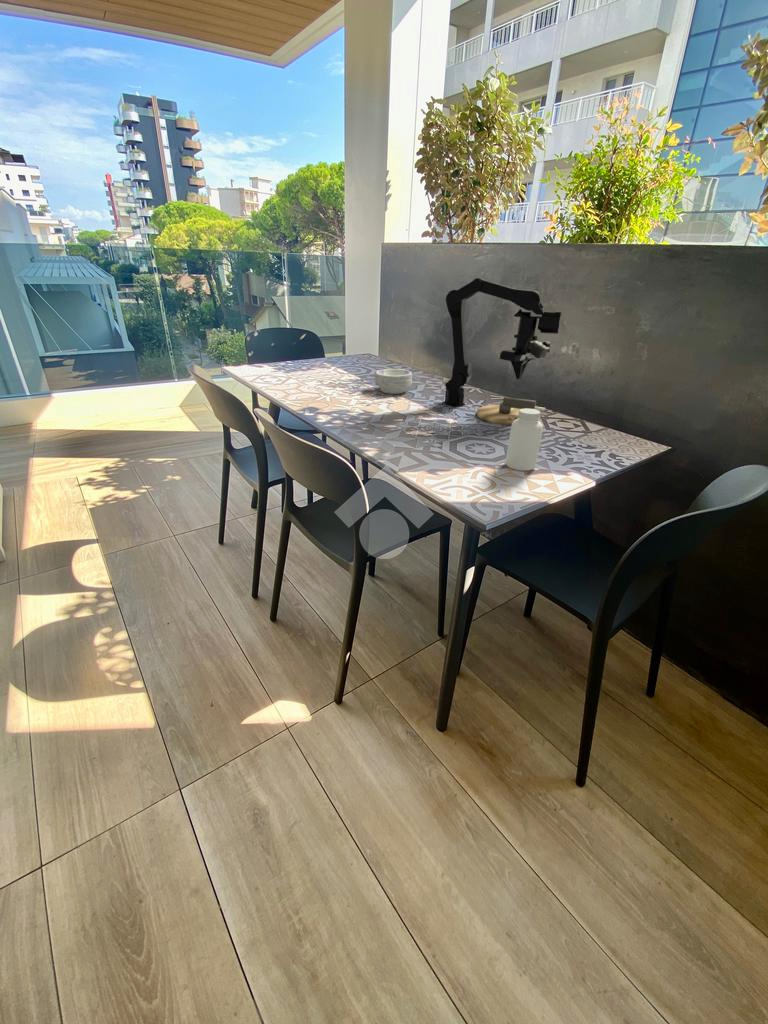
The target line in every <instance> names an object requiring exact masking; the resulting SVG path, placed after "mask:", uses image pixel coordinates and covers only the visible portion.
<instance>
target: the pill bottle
mask: <svg viewBox="0 0 768 1024" xmlns="http://www.w3.org/2000/svg"><path fill="white" fill-rule="evenodd" d="M540 418H541V410H535V409H529V408H525V409H520V410H519V413H518V419H517V420H515V421H514V422H513V423H512V425H510V432H509V438H508V445H507V451H506V456H505V464H506V466H507V467H508V468H510V469H512V470H516V471H524V472H525V471H526V472H528V471H533V470H534V469H535V468H536V465H537V463H538V462H537V461H538V457H539V451H540V447H541V442H542V441H541V440H542V437H543V431H544V425H543V424H542V422H541V421H540Z"/></svg>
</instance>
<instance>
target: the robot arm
mask: <svg viewBox="0 0 768 1024" xmlns="http://www.w3.org/2000/svg"><path fill="white" fill-rule="evenodd" d="M477 293H482V294H487V295H489V296H491V297H492V296H493V297H496V298H499V299H503V300H506V301H509V302H511V303H513V304H515V305H516V306H518V307H520V309H519V310H518V311H517V312H516V313H514V315H513V317H515V318H519V321H518V328H517V333H515V334H514V336H513V338H515V339H516V340H515V344H514V345H515V346H513V347H512V348H511V349H505V350H504V349H503V350H502V351H501V352H499V353H500V354H499V357H498V358H499V360H502V361H508V362H510V363H511V366H512V369H513V371H514V375H515V379H517V380H521V378H522V376H523V374H524V372H525V371H526V369H527V366H528V365H529V364H530V363H531V362H532V361H535V358H536V359H541V358H545V357H546V355H547V353H550V351H551V350H550V349H551V342H550V341H548V340H546V341H543V342H541V341H538V335H537V334H536V335H535V333H536V329H537V330H538V331H540V334H546V335H547V334H548V335H559V331H560V326H561V317H562V311H546V310H545V307H544V306H543V304H542V295H541V293H540V291H537V290H534V289H524V288H523V289H522V288H520V289H519V288H514V287H510V286H507V285H503V284H500V283H496V282H493V281H490V280H486V279H484V278H482V277H476V278H475V279H473V280H472V281H471V282H469V283H466V285H464V286H462V287H460V288H456V289H452V290H450V291H448V293H447V294H446V297H445V304H446V308H447V312H448V314H449V316H450V320H451V330H452V344H453V345H452V347H453V356H454V357H453V361H454V362H453V366H452V373H451V378H450V380H448V381H446V383H445V385H444V387H445V397H444V401H442V402H441V404H443V405H447V406H449V407H453V408H454V407H460V406H463V405H466V403H465V402H464V400H465V388H464V386H465V385H466V384H467V383H468V382H469V381H470V380H471V378H472V376H473V374H474V372H473V369H472V368H473V367H472V366H473V363H472V362H469V361H468V359H467V351H466V349H467V348H466V347H467V346H466V332H465V320H464V319H465V312H466V307H467V300H468V299H470V298H472V297H473V296H475V294H477ZM523 309H524V310H525V311H523ZM532 312H533V313H534V315H533V313H532ZM538 319H539V320H538ZM537 323H538V324H537ZM532 356H533V357H534V358H532Z"/></svg>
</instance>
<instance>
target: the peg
mask: <svg viewBox="0 0 768 1024" xmlns="http://www.w3.org/2000/svg"><path fill="white" fill-rule="evenodd" d="M499 405H500V407H499V412H500V413H510V412H511V408H518V409H525V408H529V409H535V410H538V411H543V412H544V411H545V410H546V407H541V406H536V405H537V400H533V399H532V400H531V399H525V398H518V397H516V398H515V397H511V396H510V397H509V396H504V397H503V400H502V402H501V403H499Z"/></svg>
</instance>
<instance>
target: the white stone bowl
mask: <svg viewBox="0 0 768 1024" xmlns="http://www.w3.org/2000/svg"><path fill="white" fill-rule="evenodd" d="M374 383H375V385H376V386H378V387H379V390H380V391H381V392H382V393H385V394H391V395H393V394H394V395H395V394H396V395H397V394H403V393H405V392H406V391H407V389H408V387H410V386H412V383H413V372H412V371H410V370H408V369H402V368H383V369H380V370H376V371H375V373H374Z"/></svg>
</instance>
